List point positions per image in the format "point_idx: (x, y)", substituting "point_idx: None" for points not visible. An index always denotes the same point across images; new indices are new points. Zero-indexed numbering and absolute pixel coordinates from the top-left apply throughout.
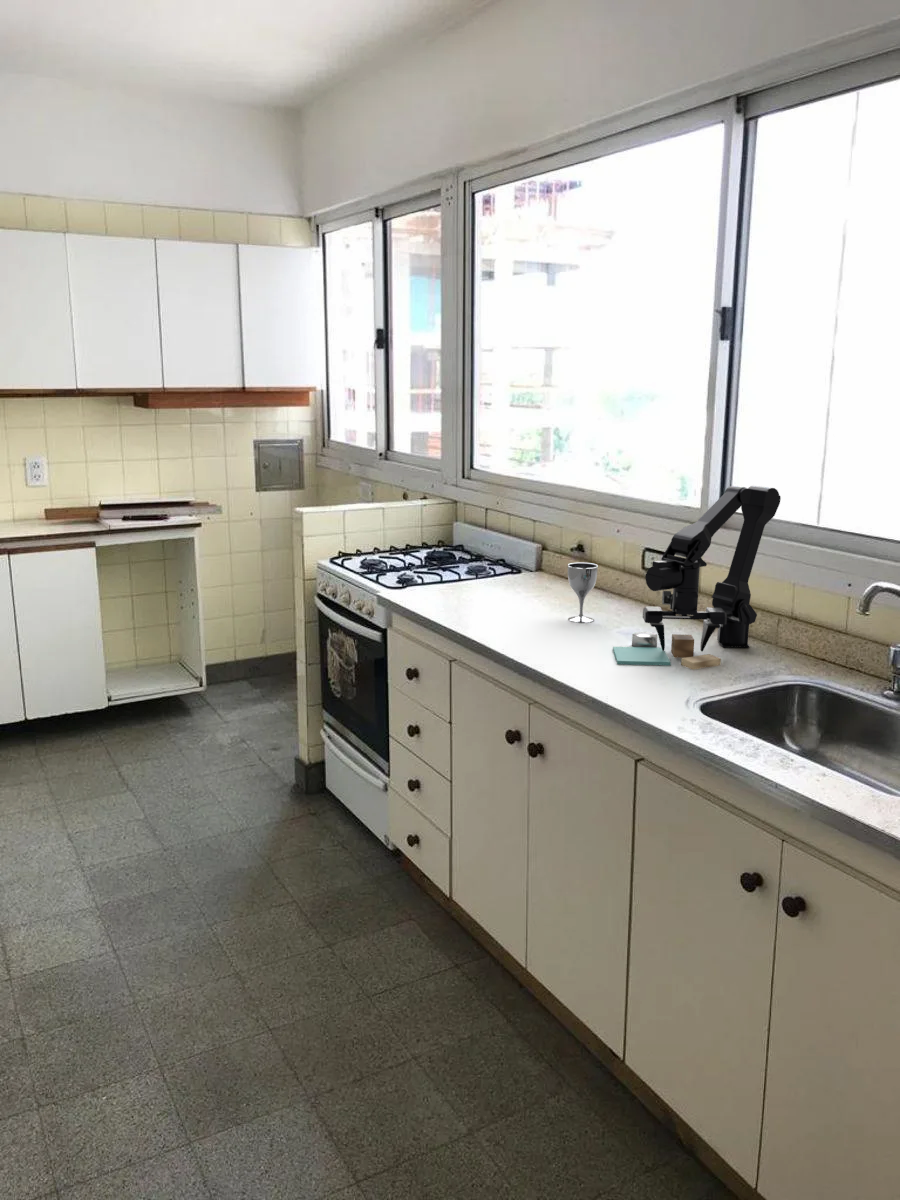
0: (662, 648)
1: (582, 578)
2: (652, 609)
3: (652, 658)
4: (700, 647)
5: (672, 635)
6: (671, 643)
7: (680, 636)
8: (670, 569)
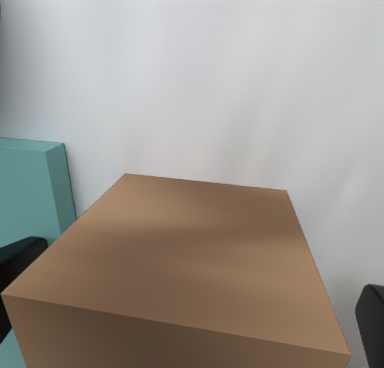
0: None
1: None
2: None
3: (4, 358)
4: (380, 303)
5: (18, 325)
6: (86, 212)
7: None
8: None
